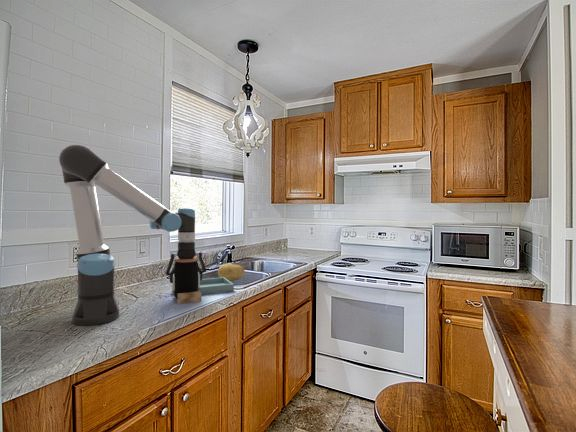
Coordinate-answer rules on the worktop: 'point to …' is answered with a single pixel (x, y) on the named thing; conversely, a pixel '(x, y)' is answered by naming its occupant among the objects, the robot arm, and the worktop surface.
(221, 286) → the bin
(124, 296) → the worktop surface
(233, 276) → the potato
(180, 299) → the oak cradle
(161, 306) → the worktop surface
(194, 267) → the coffee jar
